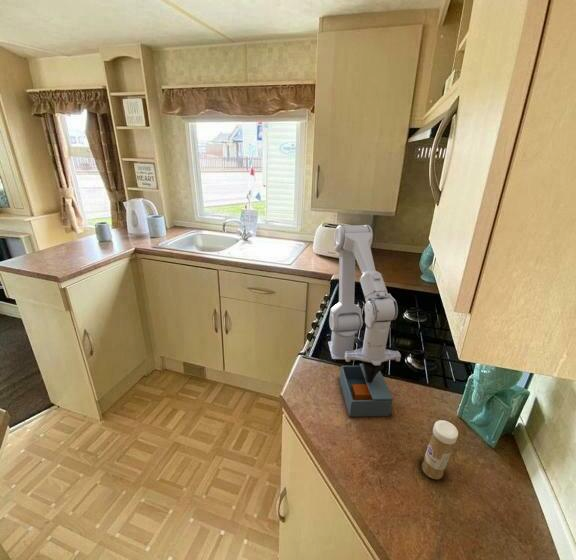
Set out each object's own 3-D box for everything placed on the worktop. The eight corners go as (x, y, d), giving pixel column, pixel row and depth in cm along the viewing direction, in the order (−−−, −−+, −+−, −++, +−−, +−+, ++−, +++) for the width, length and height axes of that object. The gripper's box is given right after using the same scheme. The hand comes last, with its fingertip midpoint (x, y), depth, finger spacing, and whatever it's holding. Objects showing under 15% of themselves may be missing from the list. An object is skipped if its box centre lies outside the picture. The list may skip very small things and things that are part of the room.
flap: (359, 364, 93) (359, 363, 93) (376, 364, 94) (376, 363, 93) (372, 400, 81) (372, 398, 81) (392, 399, 81) (392, 398, 81)
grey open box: (339, 379, 96) (341, 365, 93) (374, 379, 96) (376, 365, 94) (349, 416, 83) (351, 401, 81) (389, 415, 84) (392, 400, 81)
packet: (354, 401, 87) (355, 394, 86) (351, 390, 91) (351, 384, 90) (375, 400, 88) (376, 394, 87) (371, 390, 91) (372, 383, 90)
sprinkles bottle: (417, 464, 71) (429, 422, 66) (433, 458, 73) (446, 416, 67) (431, 483, 68) (446, 440, 62) (448, 476, 69) (464, 434, 63)
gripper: (351, 349, 77) (345, 391, 83) (408, 349, 78) (399, 390, 84) (345, 333, 84) (340, 372, 89) (398, 332, 84) (390, 372, 90)
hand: (368, 380), depth 87 cm, fingers closed, pressing on flap
